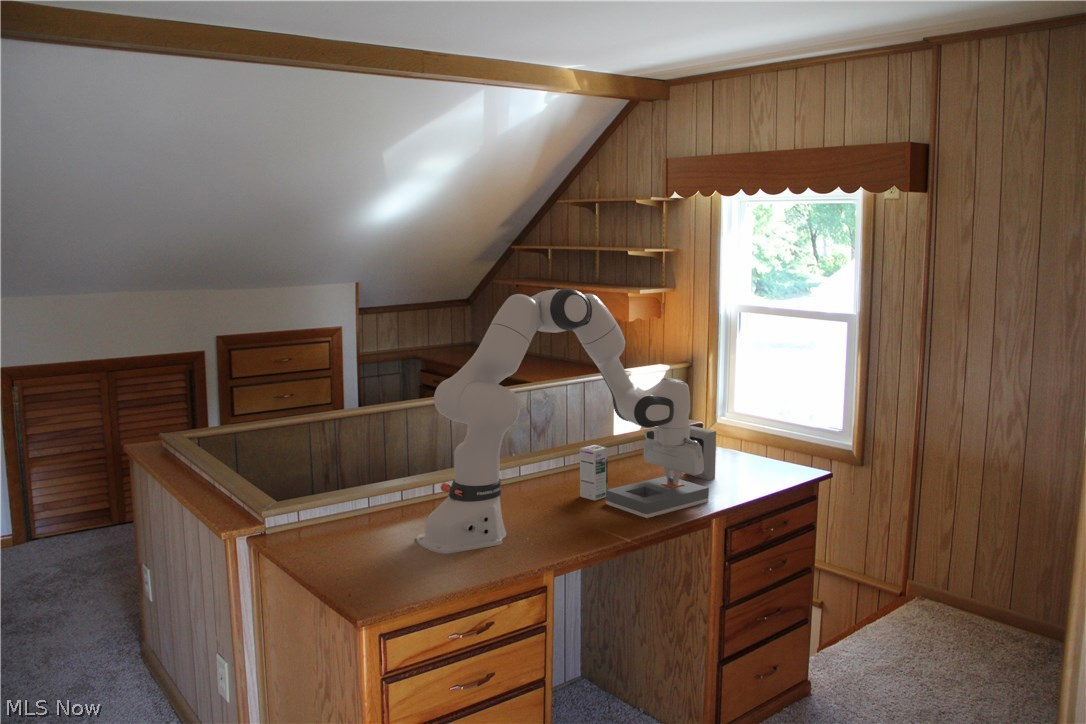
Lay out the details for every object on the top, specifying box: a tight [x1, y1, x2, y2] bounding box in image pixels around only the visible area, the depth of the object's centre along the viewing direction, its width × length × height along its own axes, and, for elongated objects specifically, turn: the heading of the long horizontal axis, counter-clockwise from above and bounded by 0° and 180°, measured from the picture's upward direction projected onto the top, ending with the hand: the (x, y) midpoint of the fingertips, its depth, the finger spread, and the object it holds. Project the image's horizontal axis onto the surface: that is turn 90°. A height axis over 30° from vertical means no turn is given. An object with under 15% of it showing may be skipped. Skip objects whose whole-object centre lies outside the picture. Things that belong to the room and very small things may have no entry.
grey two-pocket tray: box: [605, 475, 710, 519], centre depth 253 cm, size 24×16×4 cm, turn 128°
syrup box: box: [579, 444, 609, 501], centre depth 258 cm, size 6×6×14 cm
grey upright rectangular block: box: [685, 425, 717, 481], centre depth 279 cm, size 10×4×15 cm, turn 40°
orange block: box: [663, 483, 683, 488], centre depth 257 cm, size 4×4×2 cm
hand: (672, 483), depth 257 cm, fingers closed, pressing on orange block
